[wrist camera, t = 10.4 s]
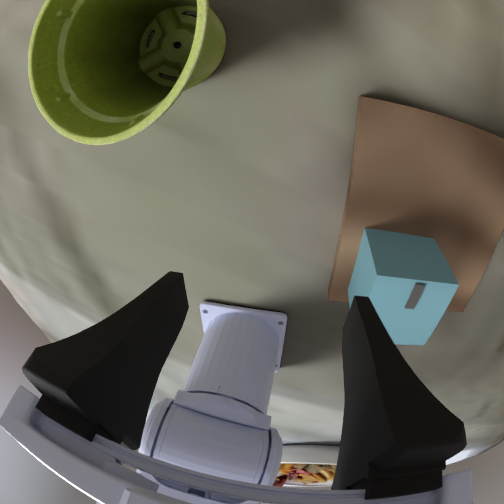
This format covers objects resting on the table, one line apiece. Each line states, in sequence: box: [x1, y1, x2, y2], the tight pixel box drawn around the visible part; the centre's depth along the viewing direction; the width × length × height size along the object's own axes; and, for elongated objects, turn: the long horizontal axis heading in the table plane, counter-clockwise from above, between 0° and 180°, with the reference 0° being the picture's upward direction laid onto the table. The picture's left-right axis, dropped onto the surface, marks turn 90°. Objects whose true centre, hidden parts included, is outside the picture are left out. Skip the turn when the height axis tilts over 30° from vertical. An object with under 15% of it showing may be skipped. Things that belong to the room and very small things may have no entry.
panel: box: [328, 96, 504, 312], centre depth 17 cm, size 15×13×1 cm
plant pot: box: [28, 0, 226, 145], centre depth 11 cm, size 9×9×9 cm
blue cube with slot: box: [348, 228, 459, 345], centre depth 17 cm, size 5×5×5 cm
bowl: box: [272, 445, 340, 487], centre depth 48 cm, size 30×30×8 cm
